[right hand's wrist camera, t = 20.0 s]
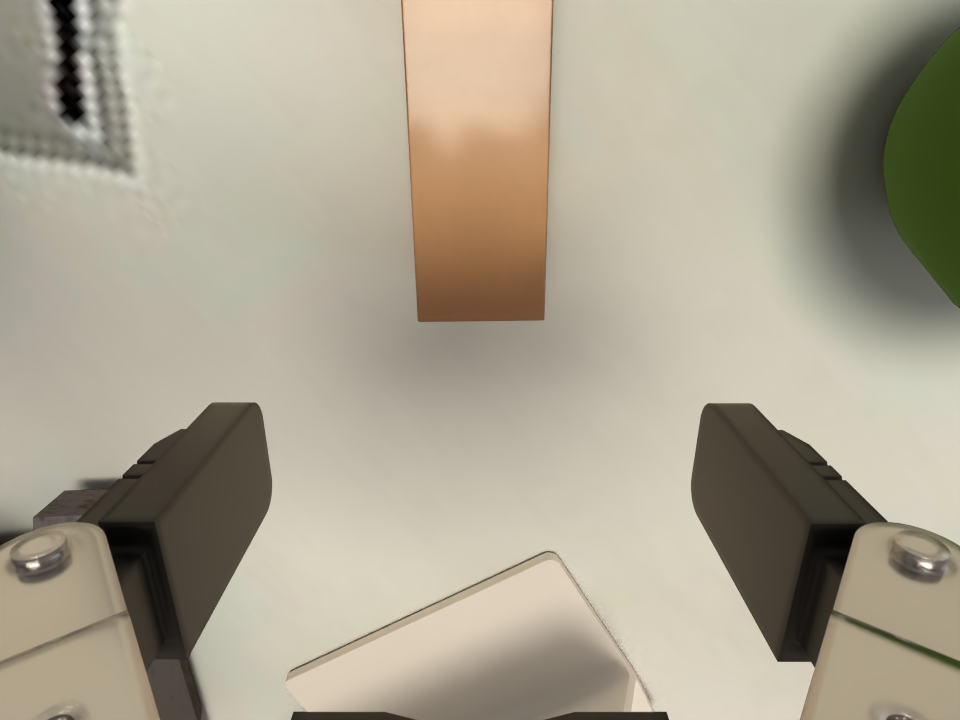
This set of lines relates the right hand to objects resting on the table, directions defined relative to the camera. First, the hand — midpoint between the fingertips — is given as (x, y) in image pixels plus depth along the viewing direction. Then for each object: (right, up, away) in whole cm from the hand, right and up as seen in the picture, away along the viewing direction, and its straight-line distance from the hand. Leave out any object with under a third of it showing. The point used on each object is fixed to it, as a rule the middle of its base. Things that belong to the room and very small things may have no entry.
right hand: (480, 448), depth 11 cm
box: (0, +17, +22) cm, 28 cm away
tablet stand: (-1, -25, +39) cm, 47 cm away
